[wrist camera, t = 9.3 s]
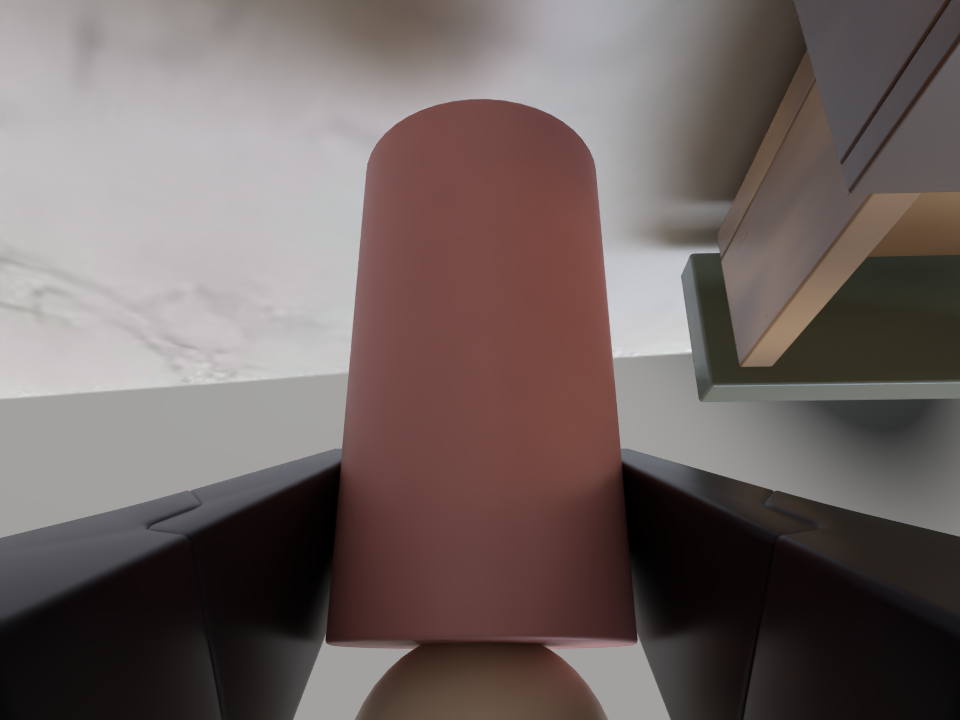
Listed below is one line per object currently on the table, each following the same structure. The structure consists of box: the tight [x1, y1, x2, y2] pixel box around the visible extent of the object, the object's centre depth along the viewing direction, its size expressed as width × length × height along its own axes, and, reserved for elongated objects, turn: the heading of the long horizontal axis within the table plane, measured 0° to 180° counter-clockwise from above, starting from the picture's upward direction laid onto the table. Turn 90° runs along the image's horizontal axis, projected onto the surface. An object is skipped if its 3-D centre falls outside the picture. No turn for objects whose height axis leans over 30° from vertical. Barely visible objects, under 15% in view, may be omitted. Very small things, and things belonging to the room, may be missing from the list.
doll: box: [326, 99, 637, 720], centre depth 10 cm, size 4×4×11 cm
